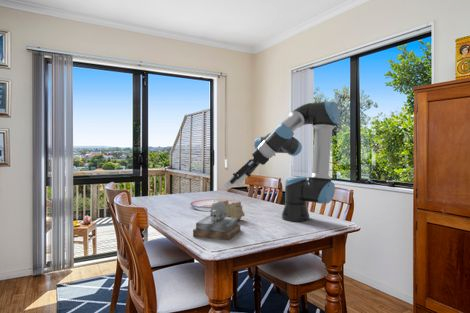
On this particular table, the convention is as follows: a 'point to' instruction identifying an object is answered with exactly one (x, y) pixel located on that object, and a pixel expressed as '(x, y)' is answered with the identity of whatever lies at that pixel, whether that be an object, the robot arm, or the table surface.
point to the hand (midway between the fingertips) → (231, 185)
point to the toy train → (233, 209)
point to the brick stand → (217, 228)
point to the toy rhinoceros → (218, 211)
